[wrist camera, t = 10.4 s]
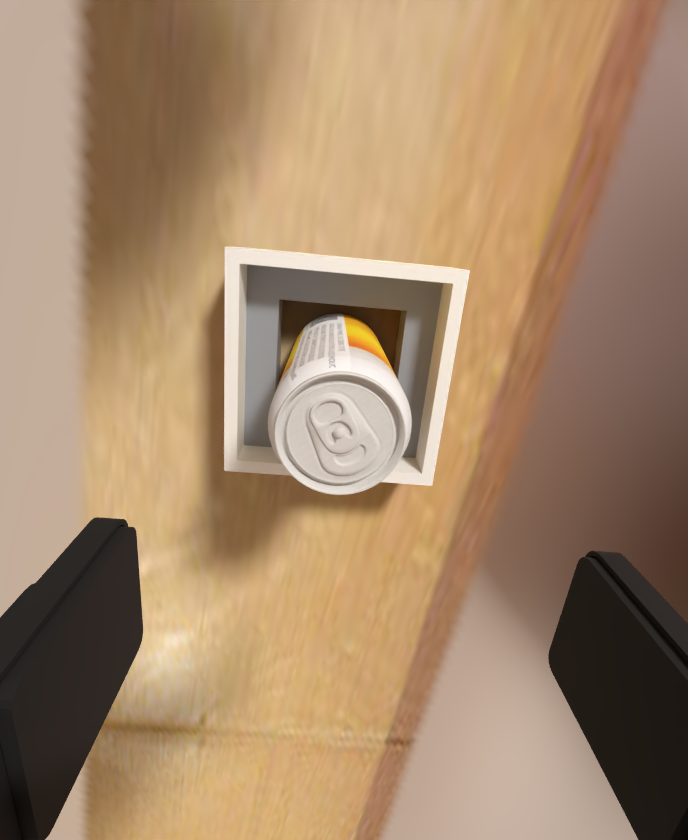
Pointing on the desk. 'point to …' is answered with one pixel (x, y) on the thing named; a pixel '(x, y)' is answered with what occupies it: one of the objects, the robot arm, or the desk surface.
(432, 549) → the desk surface
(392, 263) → the socket box
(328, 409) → the beer can
